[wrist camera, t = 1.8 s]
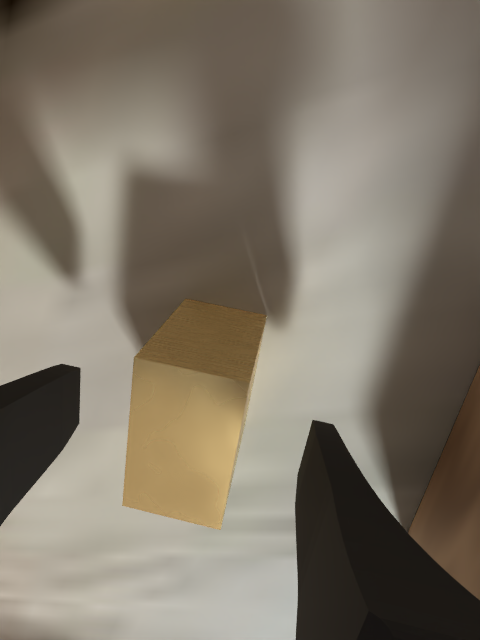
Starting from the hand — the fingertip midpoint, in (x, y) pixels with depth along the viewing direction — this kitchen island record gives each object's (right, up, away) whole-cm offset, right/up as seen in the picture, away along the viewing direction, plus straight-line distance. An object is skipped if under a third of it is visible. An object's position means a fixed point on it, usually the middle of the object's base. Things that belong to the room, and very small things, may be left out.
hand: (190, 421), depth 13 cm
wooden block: (+1, +1, +3) cm, 4 cm away
